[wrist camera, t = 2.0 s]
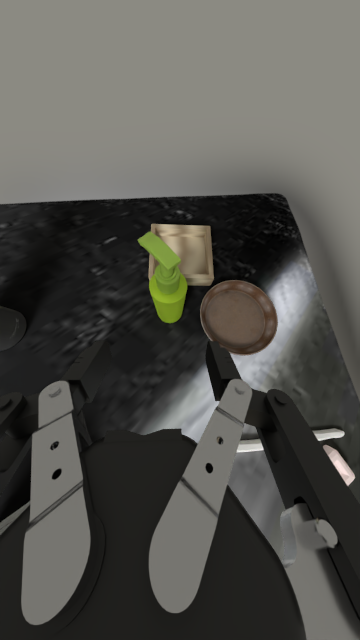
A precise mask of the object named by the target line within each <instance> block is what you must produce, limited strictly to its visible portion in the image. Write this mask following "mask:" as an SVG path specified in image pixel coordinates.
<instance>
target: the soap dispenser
mask: <svg viewBox="0 0 360 640" xmlns="http://www.w3.org/2000/svg"><path fill="white" fill-rule="evenodd" d="M138 241H139V243H140V245H141V246H143V247H144V248H145V249H146V250H147V251H148V252H149V253H150V254H151V255H152V256H153V257H154V258H155V259H156V260H157V261H158V262H159V263H160V264H159V265H158V266H157V267H156V269H155V274H154V275H153V276H152V278H151V280H150V283H149V289H150V293H151V296H152V298H153V301H154V304H155V307H156V310H157V313H158V316H159V317H160V319H161V320H162V321H164V322H166V323H173V322H176V321H177V320H179V319H180V317H181V315H182V311H183V306H184V301H185V296H186V292H187V281H186V279H185V277H184V276H183V275H182V274H181V273H180V270H179V268H178V266H177V265H179V264H180V263H181V259H180V258H179V257H178V256H177V255H176V254H175V253H174V252H173V250H172V249H171V248H170V247H169V246H168V245H167V244H166V243H165V242H163V241H162V240H161V239H160V238H159V237H158V236H156V235H155V234H153V233H152V232H148V233H147V234H146V235H144V236H143V237H141V238H140V239H138Z"/></svg>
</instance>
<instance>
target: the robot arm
mask: <svg viewBox="0 0 360 640" xmlns="http://www.w3.org/2000/svg"><path fill="white" fill-rule="evenodd" d="M25 331H26V320H25V317H24V316H23V315H22V314H21V313H20V312H18V311H16V310H12V309H9V308H5V307H2V306H0V351H2V350H6V349H9V348H11V347H12V346H14V345H15V344H17V343H18V342H19V341H20V340H21V338H22V337H23V335H24V333H25ZM111 359H112V355H111V352H110V348H109V344H108V342H107V341H95V342H94V344H93V345H92V346H91V347H88V348H87V349H85V350H84V351H83V352H82V353H81V354H80V355H79V357H78V359H76V360H75V362H74V363H73V364H72V366H71V367H70V368H69V370H68V371H67V372H66V373H65V375H64V376H63V377H62V379H61V380H60V381H58V382H55V383H52V384H50V385H49V386H47V387H46V388H45V389H44V390H43V391H42V392H41V393H38V394H34V395H30V396H26V397H24V396H23V395H22V394H21V393H19V392H13V393H9V394H6V395H4V396H2V397H0V438H1V437H2V435H3V434H4V433H7V435H6V436H5V438H4V439H3V440H2V442H1V443H0V496H1V494H2V492H3V491H4V489H5V488H6V486H7V484H8V483H9V481H10V480H11V478H12V476H13V475H14V473H15V471H16V470H17V468H18V467H19V465H20V463H21V462H22V460H23V458H24V457H25V455H26V454H27V452H28V450H29V449H30V447H31V446H32V465H31V500H30V505H29V506H28V507H27V508H26V509H25V510H24V511H23V512H22V513H21V514H20V515H19V516H18V517H17V518H16V519H15V520H14V521H13V522H12V523H11V524H10V525H9V526H8V527H7V528H6V530H5V531H4V532H3V533H2V534H1V535H0V640H360V504H359V503H358V501H357V500H356V498H355V497H354V495H353V493H352V492H351V490H350V489H349V487H348V486H347V484H346V483H345V481H344V480H343V478H342V476H341V475H340V473H339V472H338V470H337V469H336V467H335V466H334V464H333V462H332V461H331V459H330V458H329V456H328V455H327V453H326V452H325V450H324V449H323V447H322V445H321V444H320V442H319V441H318V439H317V438H316V436H315V435H314V433H313V431H312V430H311V428H310V427H309V425H308V424H307V422H306V421H305V419H304V418H303V416H302V414H301V413H300V411H299V410H298V408H297V407H296V405H295V404H294V402H293V400H292V399H291V398H290V397H289V396H288V395H287V394H286V393H284V392H282V391H280V390H277V389H271V390H269V391H268V392H267V393H264V392H261V391H257V390H254V389H252V388H251V387H250V386H249V385H248V384H247V383H246V382H244V381H243V380H242V379H241V377H240V374H239V372H238V370H237V368H236V366H235V364H234V361H233V359H232V357H231V355H230V353H229V351H228V350H227V349H226V348H221V347H220V345H219V342H218V341H208V344H207V350H206V364H207V368H208V372H209V376H210V381H211V385H212V389H213V393H214V397H215V401H220V402H219V405H218V406H217V407H216V409H215V410H214V412H213V414H212V416H211V418H210V421H209V423H208V425H207V427H206V429H205V431H204V433H203V435H202V437H201V439H200V441H199V443H198V444H197V443H196V442H195V441H194V440H192V439H191V438H189V437H187V436H185V435H182V434H181V429H163V430H160V431H157V432H153V433H150V434H147V435H140V434H136V433H133V432H130V431H126V430H116V431H107V432H106V435H105V437H104V438H102V439H99V440H97V441H96V442H94V443H92V441H91V439H90V436H89V433H88V429H87V425H86V421H85V416H84V412H83V409H82V406H83V405H84V403H91V402H92V400H93V398H94V396H95V394H96V392H97V390H98V388H99V386H100V384H101V382H102V380H103V378H104V375H105V373H106V371H107V369H108V367H109V365H110V363H111ZM244 423H246V424H249V425H252V426H255V427H256V429H257V432H258V435H259V438H260V440H261V443H262V446H263V449H264V451H265V454H266V457H267V459H268V462H269V465H270V468H271V470H272V473H273V476H274V479H275V481H276V484H277V487H278V489H279V492H280V495H281V498H282V500H283V503H284V506H285V509H286V510H284V511H283V513H282V515H281V519H280V526H281V532H282V536H283V540H284V558H283V561H282V563H281V561H280V559H279V557H278V555H277V554H276V552H275V551H274V549H273V548H272V546H271V545H270V543H269V542H268V541H267V539H266V538H265V536H264V535H263V534H262V532H261V531H260V529H259V528H258V527H257V525H256V524H255V522H254V521H253V520H252V518H251V517H250V515H249V514H248V513H247V511H246V510H245V508H244V507H243V506H242V504H241V503H240V501H239V500H238V498H237V497H236V496H235V494H234V493H233V491H232V490H231V489H230V487H229V486H228V484H227V483H228V480H229V477H230V473H231V470H232V466H233V463H234V459H235V456H236V452H237V449H238V445H239V442H240V439H241V435H242V432H243V428H244V425H243V424H244Z"/></svg>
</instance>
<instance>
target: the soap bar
mask: <svg viewBox="0 0 360 640" xmlns="http://www.w3.org/2000/svg"><path fill="white" fill-rule="evenodd" d="M323 449H324V450H325V452H326V453H327V455H328V456H329V458H330V459H331V461H332V462H333V464H334V466H335V467H336V469H337V470H338V472H339V473H340V475H341V476H342V478H343V480H344V481H345V483H346V484H347V486H348V485H349V484H350V483H351V482H352V481H353V480H354V479H355V475H354V473H353V472H352V471H351V469H350V468H349V466H348V465H347V464H346V462H345V461H344V460H343V458H342V457H341V455H340V454H339V453H338V451H337V450H335V449H333V448H332V447H330V446H328V445H324V446H323Z"/></svg>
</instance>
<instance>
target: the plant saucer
mask: <svg viewBox="0 0 360 640" xmlns="http://www.w3.org/2000/svg"><path fill="white" fill-rule="evenodd" d="M200 318H201V323H202V326H203V329H204V331H205V333H206V334H207V336H208V337H209V339H210V340H211V341H218V342H219V345H220V347H221V348H226V349H227V350H228V351H229V353H231V354H235V355H252V354H255V353H258V352H260V351H262V350H263V349H265V348H266V347H267V346H268V345H269V344H270V343H271V342H272V340H273V338H274V336H275V334H276V331H277V325H278V319H277V313H276V310H275V307H274V305H273V303H272V301H271V300H270V299H269V297H268V296H267V295H266V294H265V293H264V292H263V291H262V290H261V289H260V288H258V287H256V286H255V285H253V284H251V283H248V282H245V281H240V280H229V281H224V282H221V283H219V284H217V285H215V286H214V287H212V288H211V289H210V290H209V291H208V292H207V294H206V295H205V297H204V299H203V301H202V304H201V309H200Z"/></svg>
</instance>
